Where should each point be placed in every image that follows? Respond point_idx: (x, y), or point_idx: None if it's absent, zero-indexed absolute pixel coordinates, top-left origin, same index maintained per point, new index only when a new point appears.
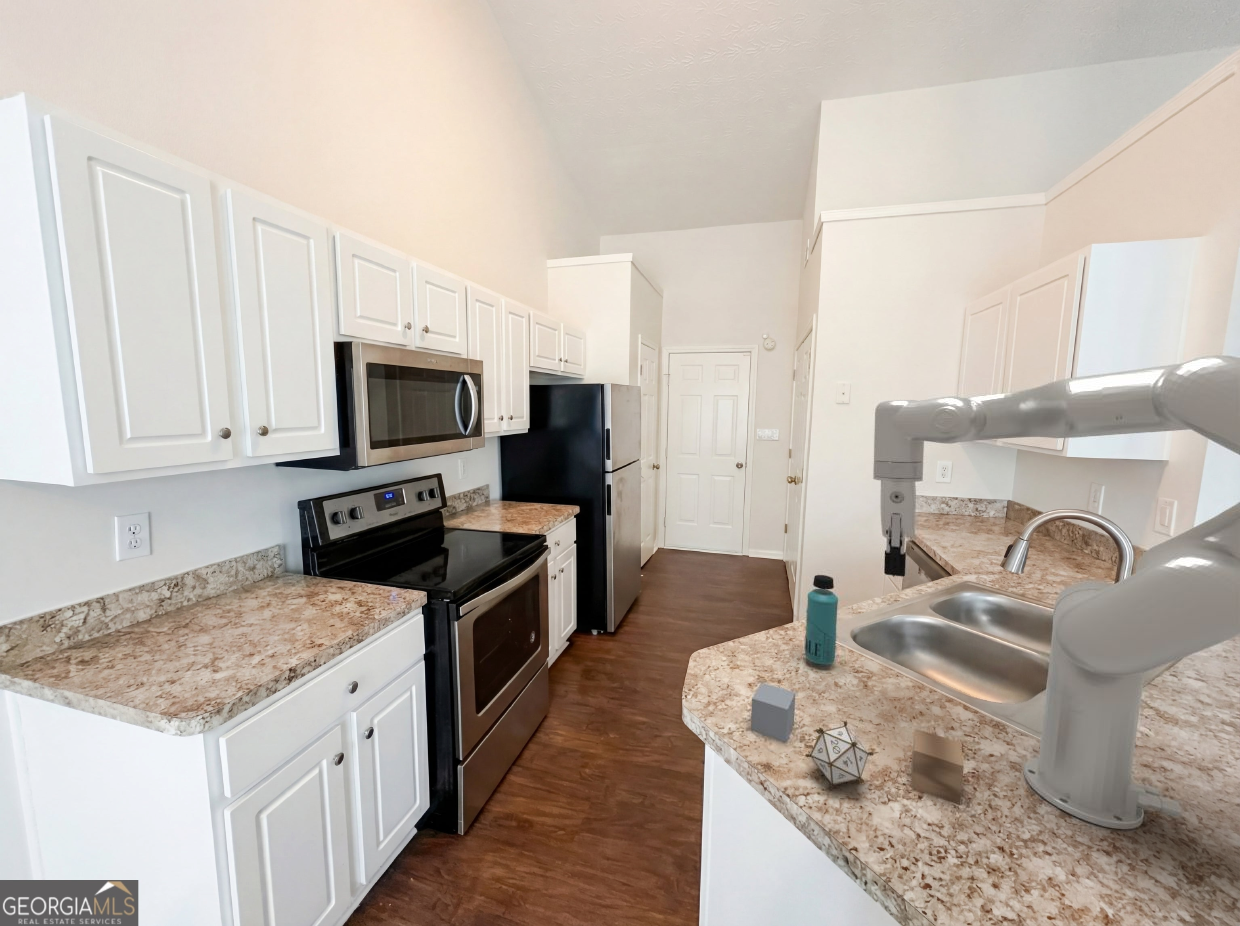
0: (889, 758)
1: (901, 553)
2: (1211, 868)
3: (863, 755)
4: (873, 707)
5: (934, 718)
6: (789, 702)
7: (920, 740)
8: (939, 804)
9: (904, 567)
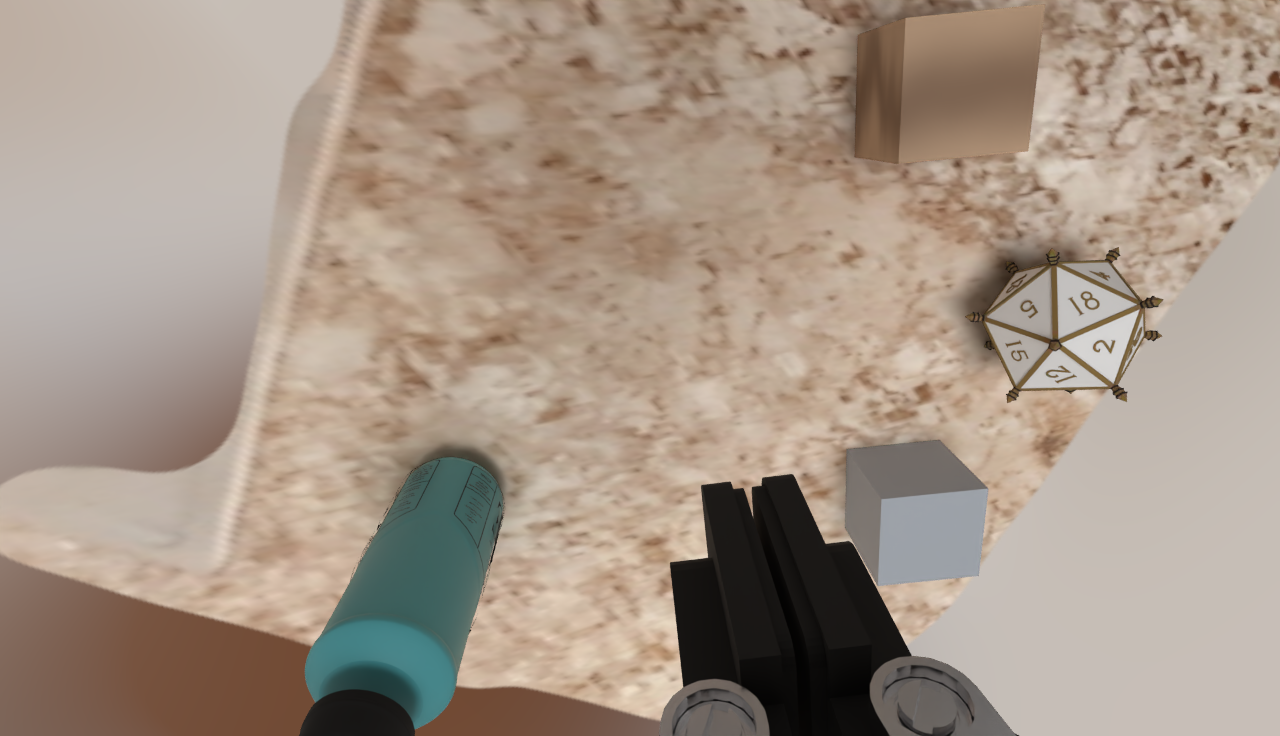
0: (864, 212)
1: (952, 696)
2: None
3: (1084, 271)
4: (620, 294)
5: (556, 119)
6: (947, 495)
7: (963, 139)
8: None
9: (813, 530)
